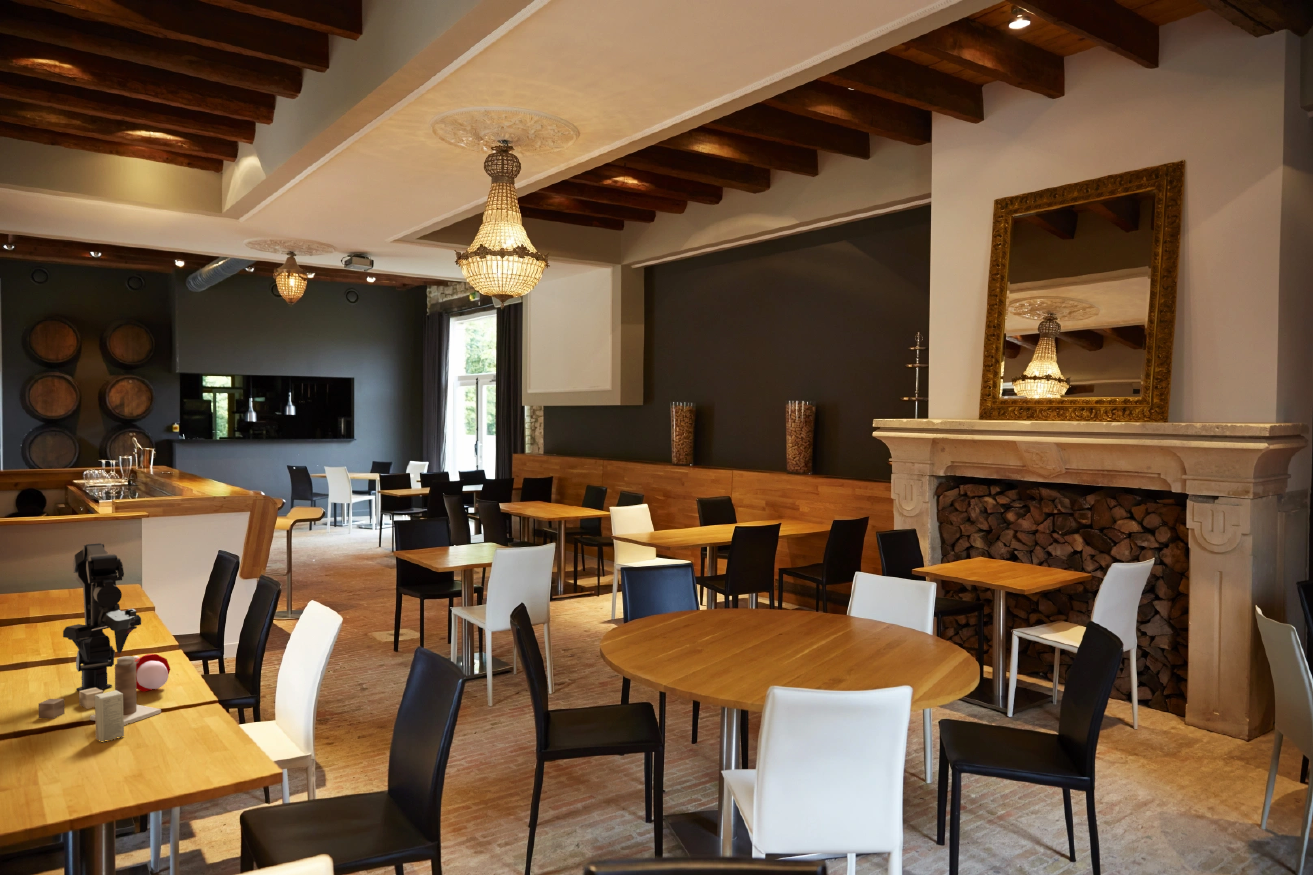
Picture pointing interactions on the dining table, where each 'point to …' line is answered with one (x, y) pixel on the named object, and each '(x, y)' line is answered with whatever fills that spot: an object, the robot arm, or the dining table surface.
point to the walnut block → (51, 708)
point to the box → (109, 715)
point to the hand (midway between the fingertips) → (103, 656)
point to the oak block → (88, 697)
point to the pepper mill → (126, 682)
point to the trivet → (137, 714)
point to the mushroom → (151, 672)
